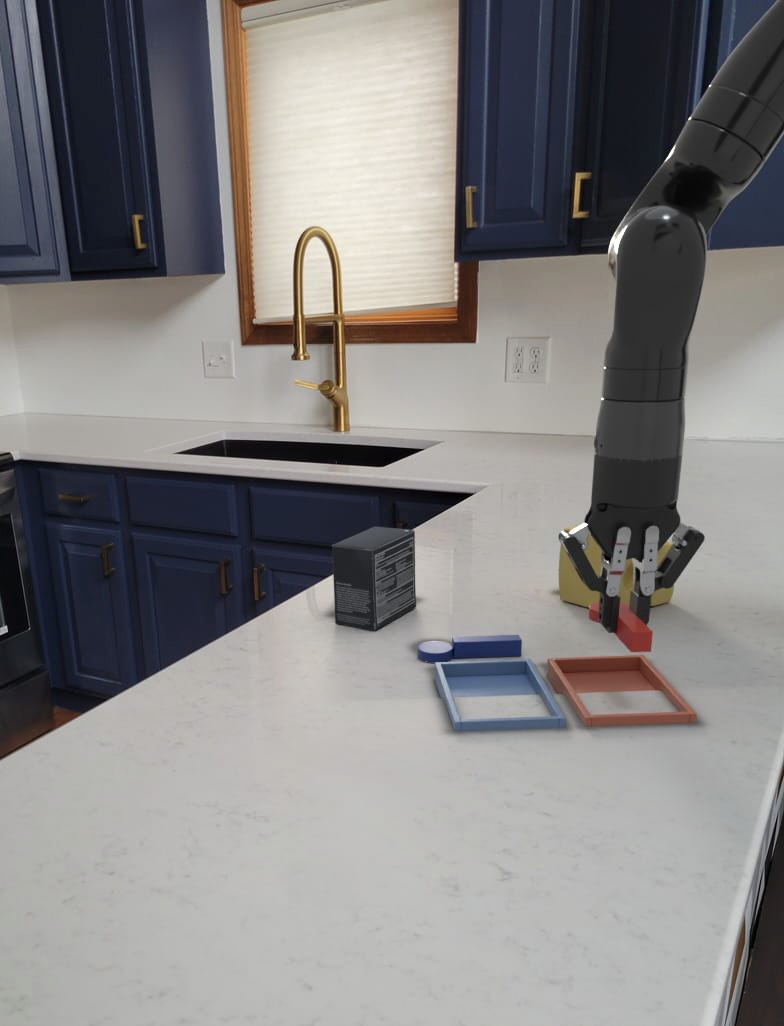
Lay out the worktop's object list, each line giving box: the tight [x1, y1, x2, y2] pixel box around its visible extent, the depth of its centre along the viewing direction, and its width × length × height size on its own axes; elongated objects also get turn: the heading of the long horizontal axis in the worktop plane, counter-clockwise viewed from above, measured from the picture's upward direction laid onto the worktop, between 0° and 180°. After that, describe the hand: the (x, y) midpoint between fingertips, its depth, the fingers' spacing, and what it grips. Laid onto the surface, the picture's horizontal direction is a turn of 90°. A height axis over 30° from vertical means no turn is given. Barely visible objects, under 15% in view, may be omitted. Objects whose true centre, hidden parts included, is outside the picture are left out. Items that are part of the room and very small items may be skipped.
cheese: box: [558, 523, 675, 609], centre depth 123 cm, size 10×11×10 cm
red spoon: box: [587, 602, 654, 653], centre depth 92 cm, size 12×4×2 cm, turn 0°
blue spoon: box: [417, 634, 523, 664], centre depth 108 cm, size 12×4×2 cm, turn 90°
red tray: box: [546, 654, 697, 727], centre depth 95 cm, size 10×15×2 cm
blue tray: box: [434, 658, 567, 732], centre depth 95 cm, size 10×15×2 cm
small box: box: [331, 525, 417, 632], centre depth 121 cm, size 11×6×10 cm, turn 145°
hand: (622, 629), depth 92 cm, fingers closed on red spoon, 2 cm apart
